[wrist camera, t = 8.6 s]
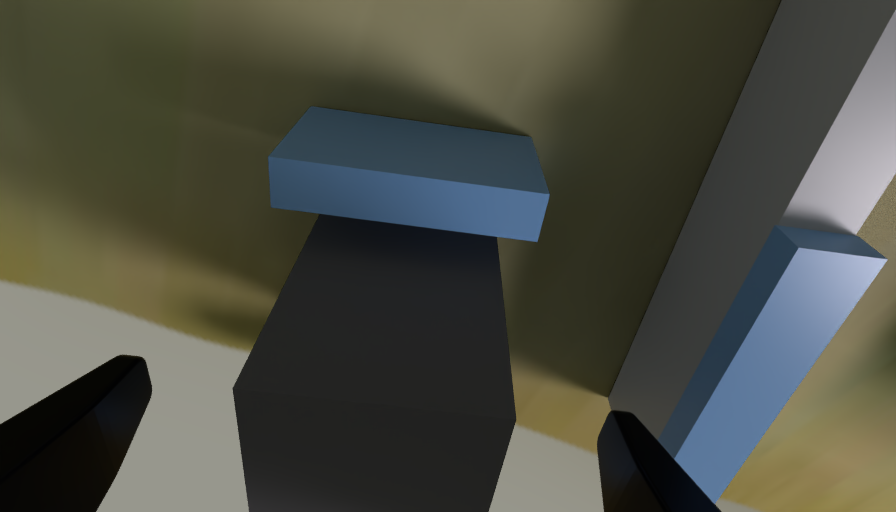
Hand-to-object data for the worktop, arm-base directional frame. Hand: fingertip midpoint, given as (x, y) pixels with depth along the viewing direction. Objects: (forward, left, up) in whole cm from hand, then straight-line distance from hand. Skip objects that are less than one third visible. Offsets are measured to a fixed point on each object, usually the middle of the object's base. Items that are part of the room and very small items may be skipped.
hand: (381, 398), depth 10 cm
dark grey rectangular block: (0, 0, -4) cm, 5 cm away
